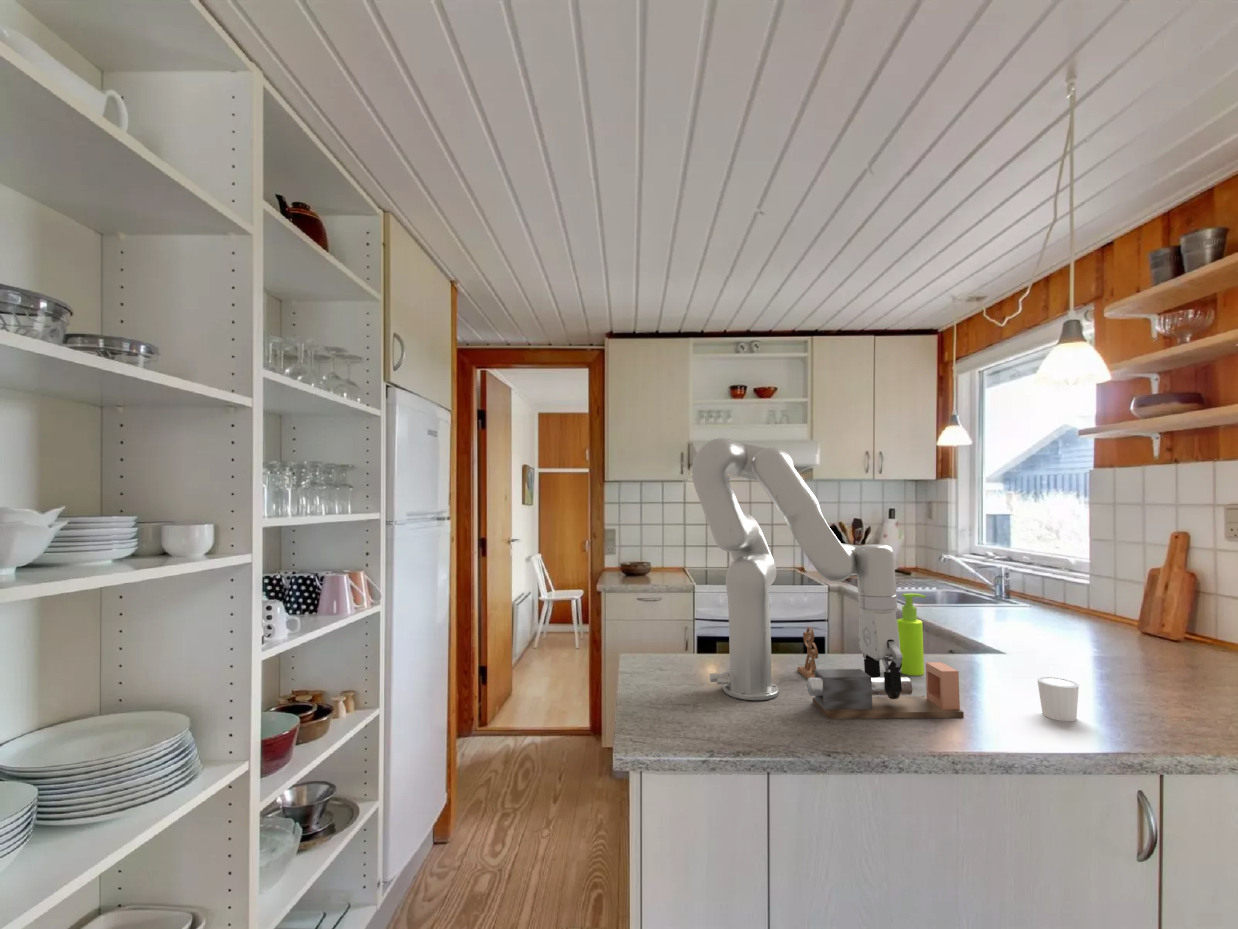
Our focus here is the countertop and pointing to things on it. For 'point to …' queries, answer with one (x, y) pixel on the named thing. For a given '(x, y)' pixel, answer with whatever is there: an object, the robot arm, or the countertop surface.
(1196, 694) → the countertop surface
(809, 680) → the steel tube
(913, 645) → the soap dispenser
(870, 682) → the stand
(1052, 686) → the white cup
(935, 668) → the socket block
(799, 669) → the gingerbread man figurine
